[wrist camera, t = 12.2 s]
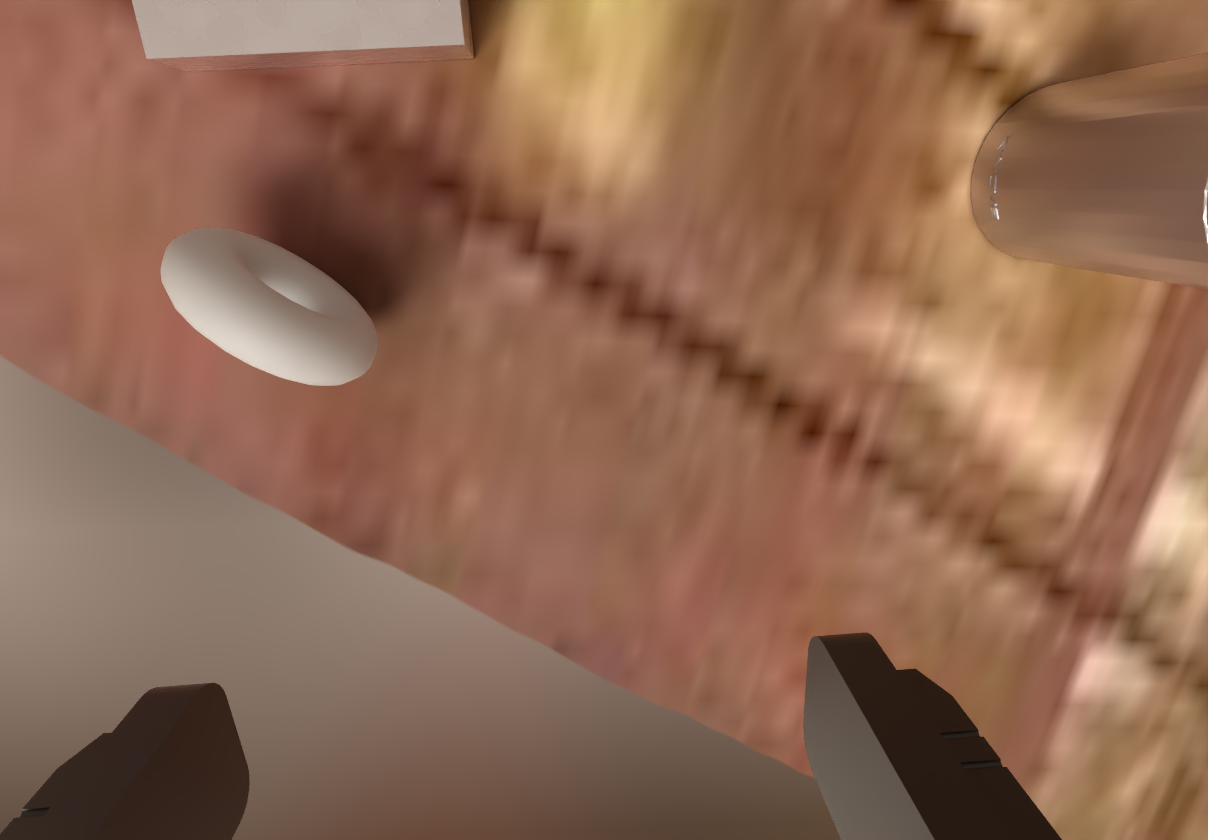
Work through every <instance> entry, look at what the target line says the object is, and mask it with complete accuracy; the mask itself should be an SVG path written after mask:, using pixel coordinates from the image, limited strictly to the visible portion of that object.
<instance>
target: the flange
mask: <svg viewBox="0 0 1208 840" xmlns="http://www.w3.org/2000/svg"><path fill="white" fill-rule="evenodd" d="M132 3H133V7H134V11H135V15H136V19H137V23H138V26H139V30H140V34H141V38H142V42H143V46H144V50H145V54H146V58H147V59H149V60H152V61H155V62H158V63H162V64H165V65H168V66H172V67H175V68H178V69H181V70H185V71H188V72H198V71H219V70H241V69H263V68H284V67H306V66H328V65H350V64H371V63H393V62H415V61H437V60H458V59H474V50H473V40H472V31H471V21H470V12H469V2H468V0H132Z"/></svg>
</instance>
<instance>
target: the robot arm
mask: <svg viewBox="0 0 1208 840" xmlns="http://www.w3.org/2000/svg"><path fill="white" fill-rule="evenodd" d="M971 201H972V207H973V213H974V216H975V219H976V221H977V223H978V226H979V228H980V230H981V231H982V233H983V234H984V235H985V237H986V238H987V239H988V241H989V242H990V243H991V244H992V245H994V246H995V247H996V248H998V249H999V250H1000V251H1001V252H1004V253H1006V254H1008V255H1011V256H1013V257H1015V258H1020V259H1026V260H1032V261H1038V262H1044V263H1050V264H1056V265H1062V266H1068V267H1072V268H1078V269H1085V270H1091V271H1097V272H1103V273H1110V274H1116V275H1122V276H1129V277H1135V278H1141V279H1147V280H1154V281H1160V282H1166V283H1172V284H1179V285H1185V286H1191V287H1197V288H1204V289H1208V53H1204V54H1199V55H1194V56H1189V57H1185V58H1180V59H1175V60H1170V61H1165V62H1160V63H1156V64H1151V65H1146V66H1141V67H1136V68H1131V69H1126V70H1122V71H1115V72H1111V73H1106V74H1101V75H1096V76H1091V77H1087V78H1082V79H1077V80H1072V81H1067V82H1063V83H1058V84H1055V85H1051V86H1047V87H1044V88H1041V89H1039V90H1037V91H1035V92H1033V93H1031V94H1029V95H1027V96H1025V97H1024V98H1023V99H1021V100H1020V101H1019V102H1017V103H1016V104H1015V105H1014V106H1012V107H1011V108H1010V109H1008V111H1007V112H1006V113H1005V114H1004V115H1003V116H1002V117H1001V118H1000V119H999V120H998V122H997V123H996V124H995V125H994V127H993V128H992V130H991V131H990V133H989V134H988V136H987V137H986V139H985V141H984V142H983V145H982V147H981V149H980V152H979V154H978V156H977V159H976V162H975V166H974V171H973V175H972V180H971ZM803 727H804V739H805V745H806V751H807V755H808V759H809V763H810V766H811V769H812V772H813V774H814V777H815V779H816V782H817V784H818V786H819V789H820V791H821V793H822V796H823V798H824V800H825V803H826V805H827V808H828V810H829V812H830V815H831V817H832V819H833V822H834V824H835V826H836V829H837V831H838V833H839V836H840V838H841V840H1062V839H1061V838H1060V837H1059V835H1058V834H1057V833H1056V831H1055V830H1054V829H1053V827H1052V826H1051V825H1050V823H1049V822H1048V821H1047V820H1046V818H1045V817H1044V816H1043V814H1042V813H1041V812H1040V810H1039V809H1038V808H1037V806H1036V805H1035V804H1034V802H1033V801H1032V800H1031V799H1030V797H1029V796H1028V795H1027V793H1026V792H1025V791H1024V789H1023V788H1022V787H1021V785H1020V784H1019V783H1018V781H1017V780H1016V779H1015V778H1014V776H1013V775H1012V774H1011V772H1010V771H1009V770H1008V768H1007V767H1003V766H1002V764H1001V761H1000V760H1001V759H1000V758H999V757H998V755H997V754H996V753H995V751H994V750H993V749H992V747H991V746H990V745H989V743H988V742H987V741H986V739H985V738H984V737H980V736H979V733H978V729H977V728H976V726H975V725H974V724H973V722H972V721H971V720H970V718H969V717H968V716H967V715H966V713H965V712H964V711H963V709H962V708H961V707H960V705H959V704H958V703H957V701H956V700H955V699H954V698H953V696H952V695H950V694H949V693H948V692H946V691H945V690H944V689H942V688H941V687H940V686H938V685H937V684H935V683H934V682H933V681H931V680H930V679H929V678H927V677H926V676H925V675H923V674H922V673H921V672H919V671H918V670H916V669H906V670H896V669H895V667H894V666H893V664H892V663H891V661H890V660H889V658H888V657H887V655H886V654H885V653H884V651H883V650H882V648H881V647H880V645H879V644H878V642H877V641H876V640H875V638H874V637H873V636H872V635H871V634H869V633H853V634H840V635H828V636H815V637H813V638H812V639H811V641H810V643H809V649H808V662H807V677H806V692H805V706H804V723H803ZM248 792H249V770H248V766H247V762H246V759H245V756H244V752H243V749H242V746H241V743H240V739H239V736H238V733H237V730H236V726H235V723H234V720H233V717H232V713H231V710H230V707H229V704H228V700H227V697H226V694H225V692H224V690H223V689H222V687H221V686H220V685H218V684H216V683H204V684H192V685H180V686H167V687H157V688H153V689H151V690H149V691H148V692H147V693H145V694H144V695H143V696H142V697H141V698H140V699H139V701H138V702H137V703H136V704H135V705H134V707H133V708H132V709H131V710H130V712H129V713H128V714H127V715H126V716H125V718H124V719H123V720H122V721H121V722H120V724H119V725H118V726H117V727H116V728H115V730H114V731H113V732H112V733H103V734H102V735H101V736H99V737H98V738H97V739H95V740H94V741H93V742H92V743H90V744H89V745H88V746H86V747H85V748H84V749H82V750H81V751H80V752H79V753H77V754H76V755H75V756H73V757H72V758H71V759H69V760H68V761H67V762H66V763H64V764H63V765H61V766H60V767H59V768H58V769H57V770H56V771H55V772H54V773H53V774H52V776H51V777H50V778H49V779H48V780H47V781H46V782H45V783H44V784H43V786H42V787H41V788H40V789H39V790H38V791H37V793H36V794H35V795H34V796H33V797H32V798H31V800H30V801H29V802H28V803H27V804H26V805H25V806H24V807H23V809H22V814H21V816H20V817H19V818H14V819H13V820H12V821H11V823H10V824H9V825H8V826H7V827H6V828H5V830H3V832H2V833H1V834H0V840H231V839H232V837H233V835H234V833H235V831H236V829H237V828H238V825H239V824H240V821H241V819H242V817H243V814H244V811H245V807H246V804H247V799H248Z"/></svg>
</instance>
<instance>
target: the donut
mask: <svg viewBox="0 0 1208 840" xmlns="http://www.w3.org/2000/svg"><path fill="white" fill-rule="evenodd" d="M161 280H162V283H163V285H164V287H165V289H166V291H167V293H168V295H169V297H170V299H171V301H172V303H173V305H174V306H175V308H176V310H177V311H178V312H179V313H180V314H181V315H182V316H183V317H184V318H185V319H186V320H187V321H188V322H189V323H190V324H191V325H192V326H193V327H194V328H195V329H196V330H197V331H199V332H200V333H201V334H203V335H204V336H205V337H207V338H208V339H209V340H211V341H212V342H213V343H215V344H216V345H218V346H219V347H220V348H222V349H223V350H224V351H226V352H228V353H230V354H231V355H233V356H235V357H237V358H239V359H240V360H242V361H244V362H246V363H248V364H249V365H251V366H254V367H256V368H258V369H261V370H263V371H266V372H268V373H271V374H273V375H276V376H278V377H281V378H284V379H288V380H292V381H296V382H300V383H304V384H308V385H323V386H333V385H341V384H344V383H346V382H349V381H351V380H354V379H356V378H358V377H360V376H362V375H364V374H365V373H366V372H367V371H368V370H369V369H370V367H371V365H372V362H373V360H374V358H375V355H376V353H377V350H378V337H377V334H376V330H375V328H374V325H373V322H372V320H371V318H370V317H369V316H368V314H367V313H366V312H365V310H364V309H363V308H362V306H361V305H360V304H359V303H358V301H357V300H356V299H355V298H354V297H353V296H352V295H351V294H350V293H349V292H347V291H346V290H345V289H344V288H343V287H342V286H341V285H340V284H338V283H337V282H336V281H334V280H333V279H332V278H330V277H329V276H328V275H326V274H325V273H324V272H322V271H321V270H319V269H318V268H316V267H315V266H313V265H312V264H310V263H308V262H307V261H305V260H304V259H302V258H300V257H299V256H297V255H295V254H293V253H291V252H289V251H287V250H286V249H284V248H282V247H280V246H278V245H276V244H273V243H271V242H269V241H266V240H264V239H262V238H259V237H257V236H254V235H250V234H247V233H244V232H240V231H237V230H233V229H228V228H218V227H202V228H196V229H194V230H191V231H189V232H186V233H184V234H182V235H180V236H178V237H176V238H174V239H173V240H172V242H171V243H170V244H169V245H168V246H167V248H166V251H165V254H164V257H163V261H162V266H161Z"/></svg>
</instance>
